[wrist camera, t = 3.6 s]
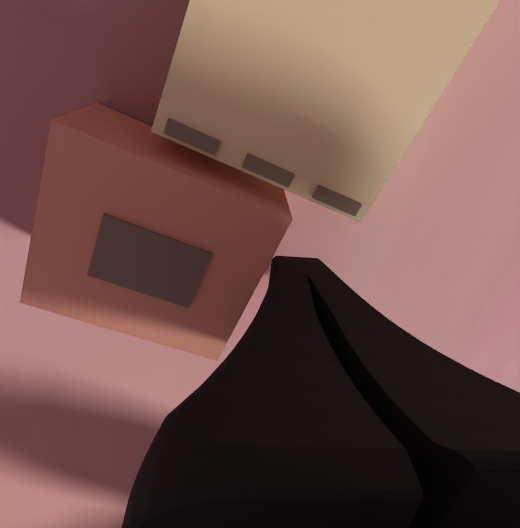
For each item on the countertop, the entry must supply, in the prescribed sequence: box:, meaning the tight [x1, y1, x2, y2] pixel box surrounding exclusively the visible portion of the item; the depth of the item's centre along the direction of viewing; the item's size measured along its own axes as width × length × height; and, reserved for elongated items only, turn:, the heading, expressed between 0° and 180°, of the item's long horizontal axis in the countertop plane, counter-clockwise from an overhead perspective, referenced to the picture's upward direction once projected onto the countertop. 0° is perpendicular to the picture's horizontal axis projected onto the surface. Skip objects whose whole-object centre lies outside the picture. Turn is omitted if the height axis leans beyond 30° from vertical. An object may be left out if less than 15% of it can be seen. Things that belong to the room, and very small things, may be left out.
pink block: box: [20, 102, 292, 360], centre depth 9 cm, size 4×5×3 cm
